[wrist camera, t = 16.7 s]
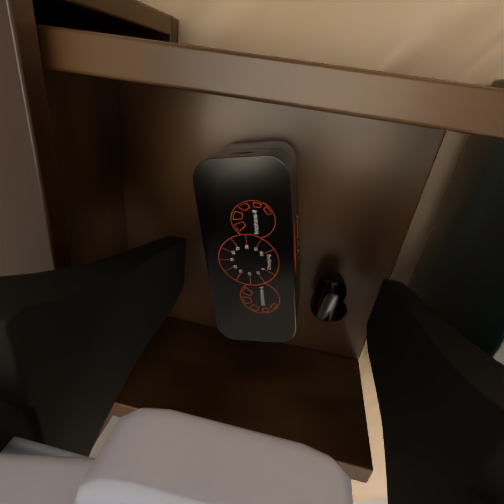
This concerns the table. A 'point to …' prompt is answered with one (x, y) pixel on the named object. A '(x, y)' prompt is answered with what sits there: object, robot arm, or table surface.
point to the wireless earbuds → (257, 243)
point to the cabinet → (46, 123)
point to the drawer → (309, 211)
